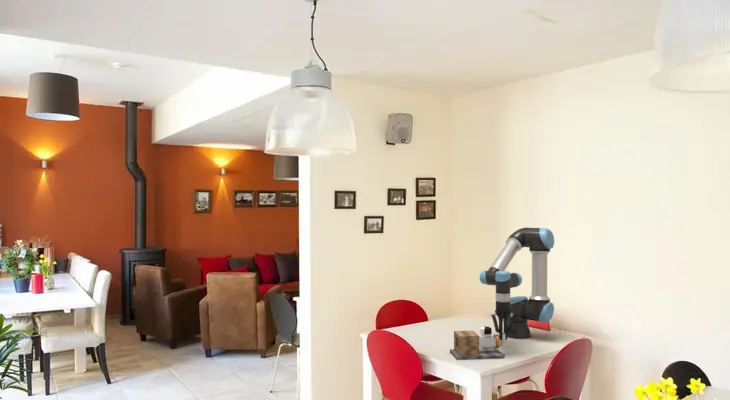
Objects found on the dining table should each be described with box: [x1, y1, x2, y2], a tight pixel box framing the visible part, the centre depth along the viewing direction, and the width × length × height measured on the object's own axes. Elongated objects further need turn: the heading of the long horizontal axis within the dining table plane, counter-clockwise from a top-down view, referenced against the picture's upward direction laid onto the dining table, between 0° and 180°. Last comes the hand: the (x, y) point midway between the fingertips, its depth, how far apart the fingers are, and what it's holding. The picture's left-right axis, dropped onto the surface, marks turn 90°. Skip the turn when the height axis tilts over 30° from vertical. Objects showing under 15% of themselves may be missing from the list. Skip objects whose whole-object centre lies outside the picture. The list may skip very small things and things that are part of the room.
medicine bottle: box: [478, 326, 495, 349], centre depth 295 cm, size 7×7×12 cm
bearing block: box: [449, 330, 506, 361], centre depth 283 cm, size 25×14×12 cm, turn 95°
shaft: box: [479, 333, 501, 349], centre depth 284 cm, size 18×7×7 cm, turn 95°
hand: (503, 345), depth 285 cm, fingers closed
